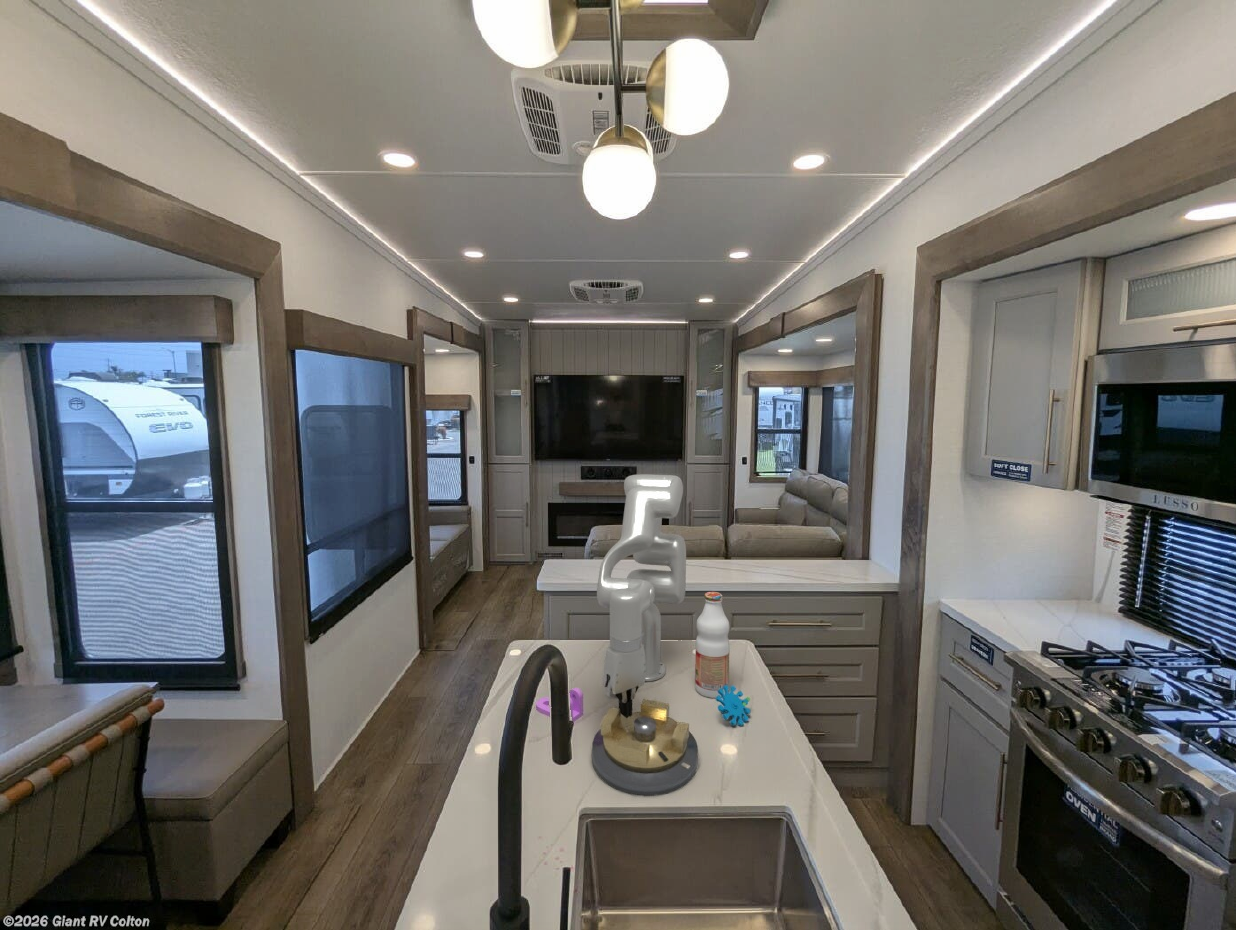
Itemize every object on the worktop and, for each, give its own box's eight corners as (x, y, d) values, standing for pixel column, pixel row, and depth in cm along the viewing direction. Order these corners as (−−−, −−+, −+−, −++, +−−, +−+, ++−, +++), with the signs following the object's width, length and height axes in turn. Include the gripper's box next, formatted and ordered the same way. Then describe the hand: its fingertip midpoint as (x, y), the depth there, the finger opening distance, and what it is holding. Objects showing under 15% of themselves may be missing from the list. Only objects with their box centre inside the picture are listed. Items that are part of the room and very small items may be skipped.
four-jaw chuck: (590, 731, 123) (590, 711, 123) (660, 711, 132) (660, 692, 131) (626, 783, 106) (626, 760, 106) (703, 757, 114) (704, 736, 114)
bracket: (583, 715, 136) (583, 689, 135) (569, 725, 131) (569, 699, 131) (545, 699, 143) (545, 675, 142) (531, 709, 139) (531, 684, 138)
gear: (729, 727, 128) (713, 686, 133) (715, 735, 131) (700, 694, 137) (760, 719, 134) (744, 680, 139) (746, 727, 137) (731, 688, 143)
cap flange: (604, 720, 133) (604, 709, 133) (699, 731, 129) (699, 719, 129) (580, 787, 110) (580, 773, 109) (696, 802, 105) (696, 788, 105)
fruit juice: (711, 702, 141) (713, 603, 138) (687, 687, 149) (689, 592, 146) (735, 692, 147) (738, 595, 144) (711, 678, 154) (713, 586, 151)
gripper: (640, 628, 131) (639, 697, 133) (590, 644, 122) (591, 717, 124) (659, 638, 125) (659, 710, 127) (609, 656, 116) (609, 733, 118)
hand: (625, 714), depth 126 cm, fingers closed
